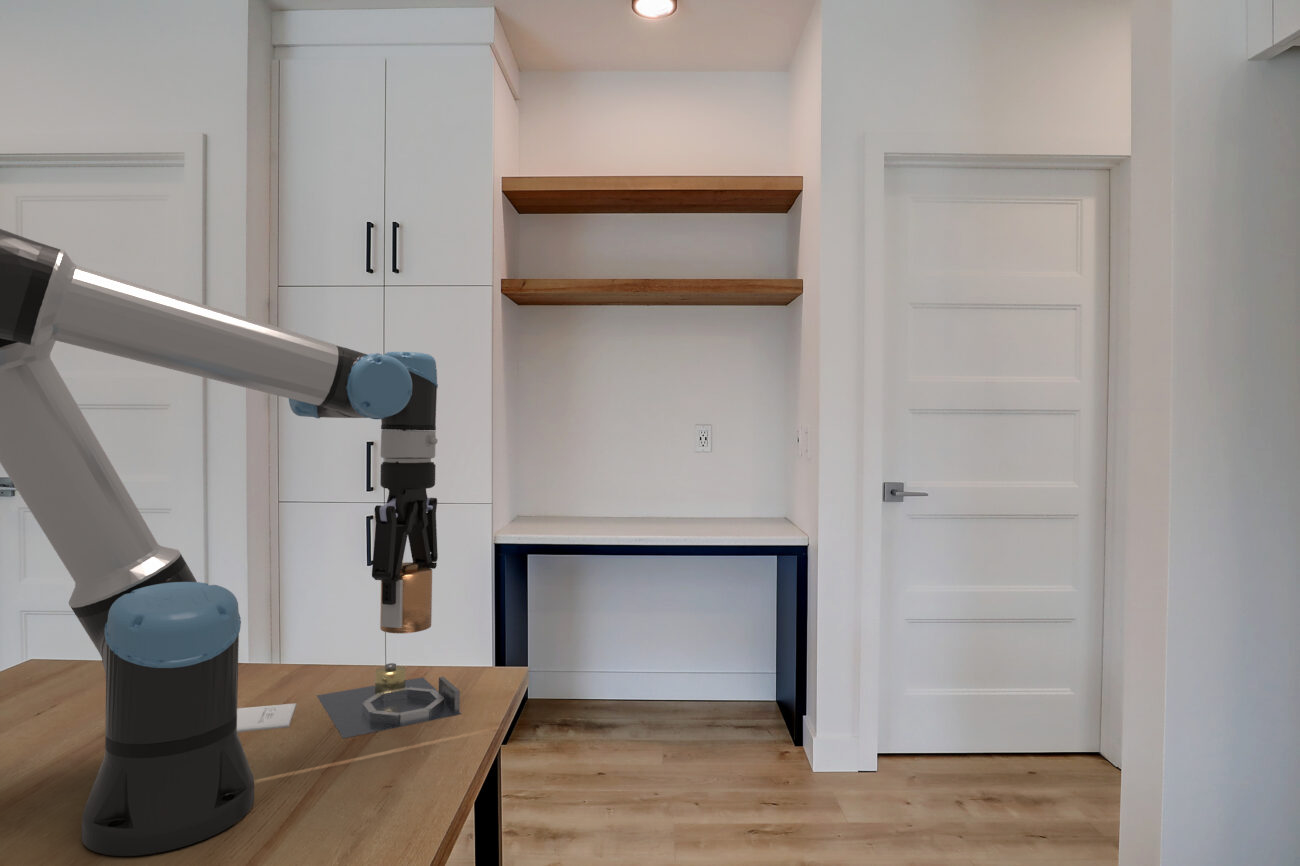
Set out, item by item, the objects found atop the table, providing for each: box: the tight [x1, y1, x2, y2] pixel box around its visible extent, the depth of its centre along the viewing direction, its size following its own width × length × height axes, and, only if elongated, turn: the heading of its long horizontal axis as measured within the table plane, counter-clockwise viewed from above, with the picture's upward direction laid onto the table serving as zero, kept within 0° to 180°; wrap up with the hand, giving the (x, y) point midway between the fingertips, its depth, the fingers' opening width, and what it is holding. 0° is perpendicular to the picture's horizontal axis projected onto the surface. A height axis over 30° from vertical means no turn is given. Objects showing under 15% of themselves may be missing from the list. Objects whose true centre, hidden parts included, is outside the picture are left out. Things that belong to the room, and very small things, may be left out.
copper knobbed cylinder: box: [379, 561, 433, 634], centre depth 107 cm, size 7×7×9 cm
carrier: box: [316, 662, 463, 739], centre depth 109 cm, size 18×16×4 cm
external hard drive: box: [237, 702, 298, 733], centre depth 102 cm, size 2×8×12 cm
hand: (405, 619), depth 107 cm, fingers closed on copper knobbed cylinder, 7 cm apart
